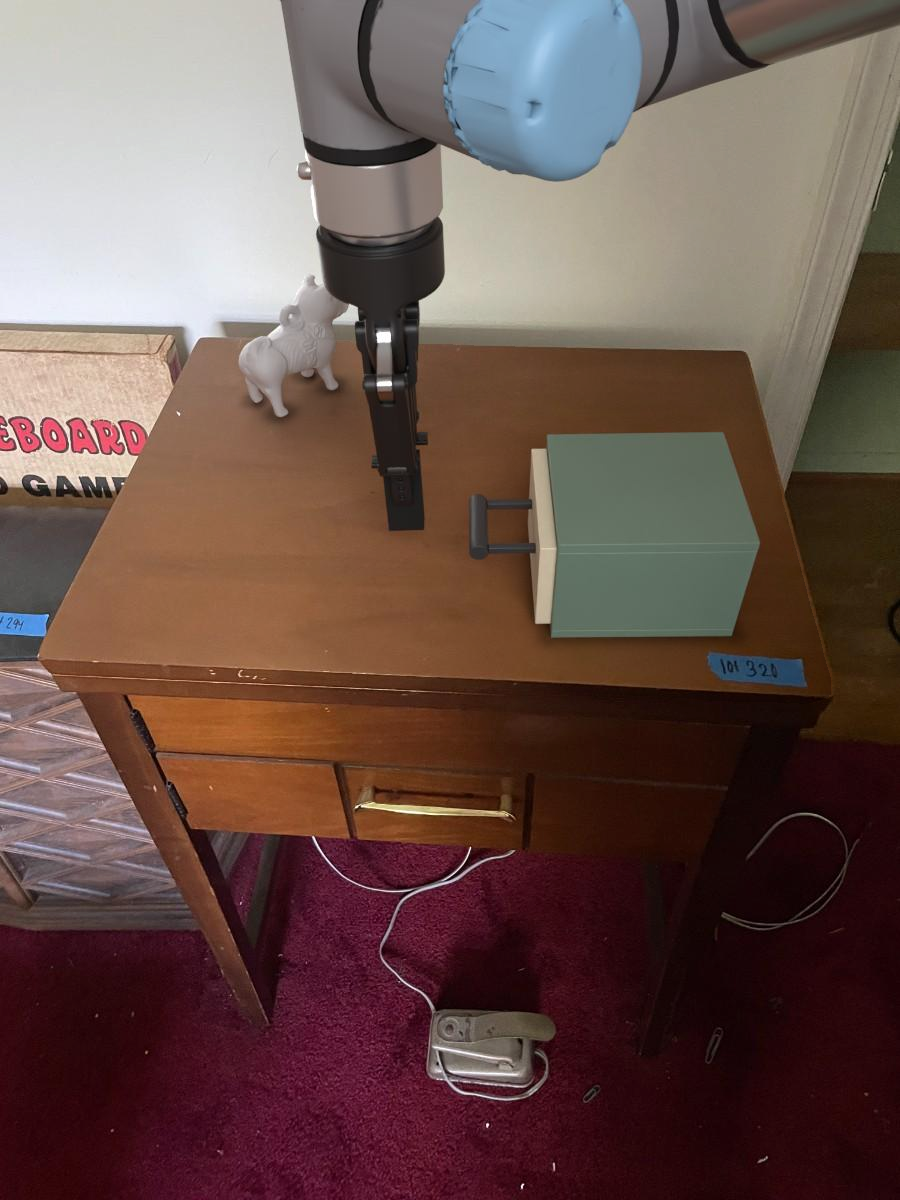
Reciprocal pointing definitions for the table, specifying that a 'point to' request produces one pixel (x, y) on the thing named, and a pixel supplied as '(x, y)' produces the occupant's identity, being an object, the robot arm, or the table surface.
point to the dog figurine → (294, 345)
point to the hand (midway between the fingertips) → (406, 523)
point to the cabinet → (648, 535)
